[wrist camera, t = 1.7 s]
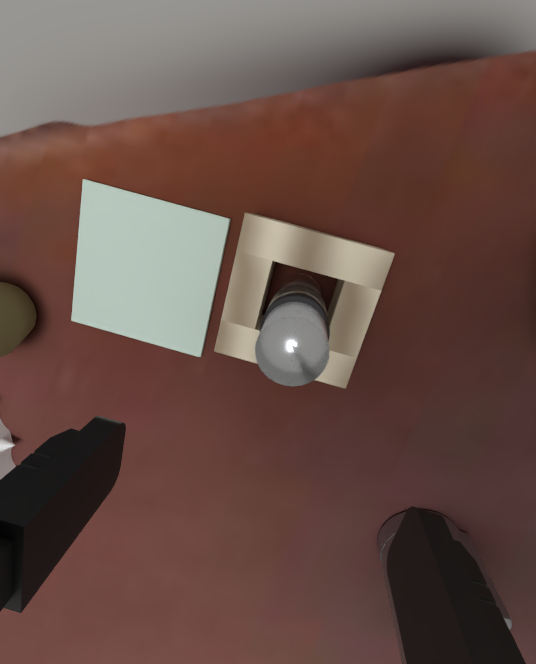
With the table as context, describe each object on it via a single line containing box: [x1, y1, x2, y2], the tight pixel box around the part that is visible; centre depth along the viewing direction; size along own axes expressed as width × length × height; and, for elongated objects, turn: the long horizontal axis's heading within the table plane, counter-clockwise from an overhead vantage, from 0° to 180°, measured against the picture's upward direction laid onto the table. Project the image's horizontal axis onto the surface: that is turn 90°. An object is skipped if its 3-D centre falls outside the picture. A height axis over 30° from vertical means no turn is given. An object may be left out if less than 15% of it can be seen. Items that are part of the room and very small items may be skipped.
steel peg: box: [255, 273, 330, 386], centre depth 27 cm, size 4×4×16 cm
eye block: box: [214, 213, 395, 389], centre depth 32 cm, size 12×12×5 cm
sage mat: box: [71, 179, 231, 357], centre depth 35 cm, size 14×14×1 cm
